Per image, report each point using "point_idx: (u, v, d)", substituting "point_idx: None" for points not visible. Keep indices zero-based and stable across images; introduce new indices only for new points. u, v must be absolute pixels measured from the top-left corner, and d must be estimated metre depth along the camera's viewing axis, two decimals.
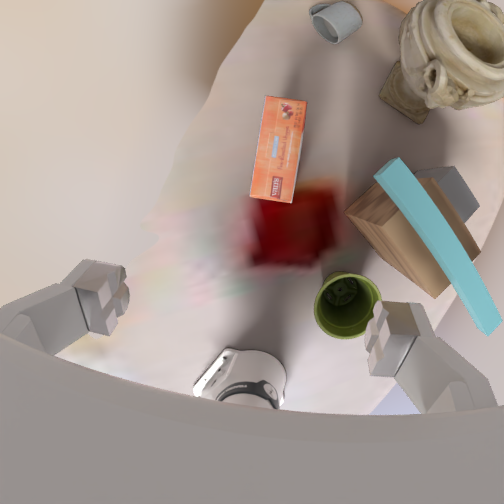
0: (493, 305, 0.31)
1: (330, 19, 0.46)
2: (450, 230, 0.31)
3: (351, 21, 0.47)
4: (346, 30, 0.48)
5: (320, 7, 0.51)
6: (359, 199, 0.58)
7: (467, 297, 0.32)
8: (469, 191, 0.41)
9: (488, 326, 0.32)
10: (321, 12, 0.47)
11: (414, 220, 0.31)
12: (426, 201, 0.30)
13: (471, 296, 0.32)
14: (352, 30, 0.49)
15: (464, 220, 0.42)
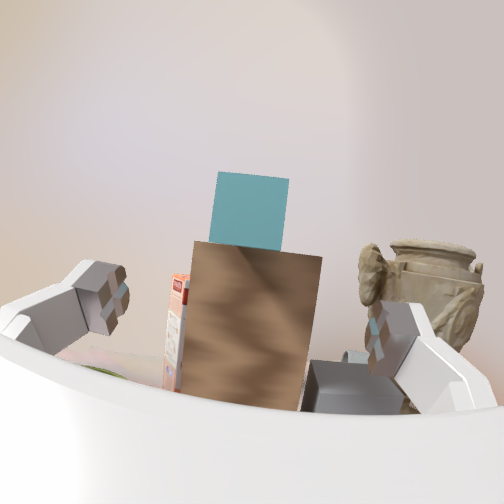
0: None
1: (350, 350, 0.63)
2: None
3: (367, 361, 0.60)
4: None
5: None
6: None
7: None
8: (389, 381, 0.24)
9: None
10: None
11: None
12: None
13: None
14: None
15: (356, 393, 0.22)
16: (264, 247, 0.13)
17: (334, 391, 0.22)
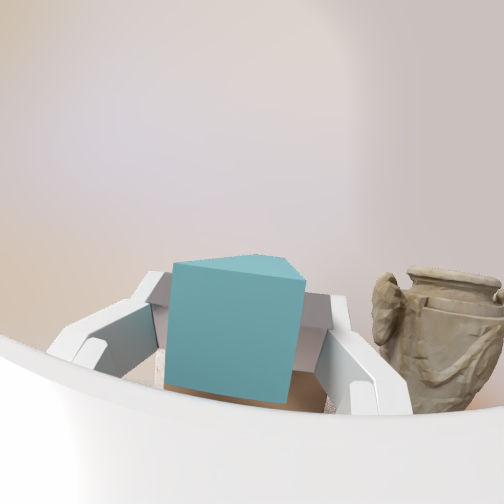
0: (290, 270, 0.10)
1: None
2: (284, 260, 0.23)
3: None
4: None
5: None
6: None
7: (229, 258, 0.15)
8: None
9: (216, 265, 0.08)
10: None
11: None
12: (278, 258, 0.27)
13: (239, 259, 0.14)
14: None
15: None
16: (258, 398, 0.07)
17: None
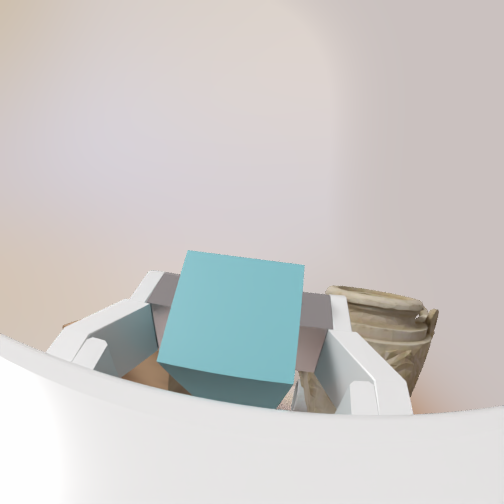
0: None
1: None
2: None
3: None
4: None
5: None
6: None
7: None
8: None
9: None
10: None
11: None
12: None
13: None
14: None
15: None
16: (262, 378, 0.06)
17: None
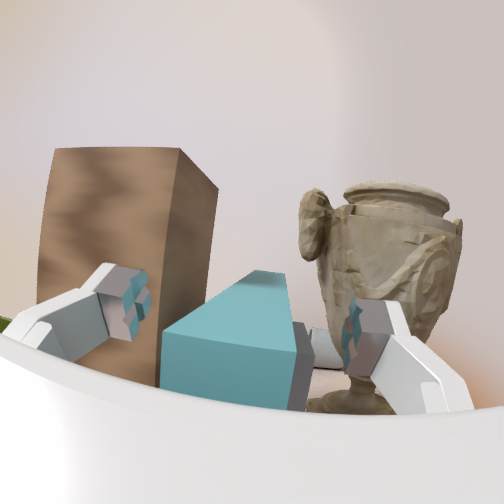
0: (284, 318, 0.10)
1: (315, 328, 0.59)
2: (283, 282, 0.22)
3: None
4: (323, 343, 0.56)
5: None
6: None
7: (225, 292, 0.14)
8: (305, 339, 0.19)
9: (207, 324, 0.08)
10: None
11: None
12: (277, 277, 0.27)
13: (235, 295, 0.14)
14: (331, 350, 0.56)
15: None
16: None
17: None
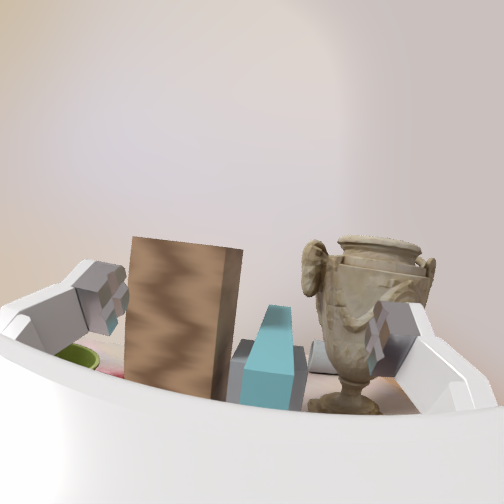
0: (290, 357, 0.21)
1: (316, 340, 0.71)
2: (289, 321, 0.34)
3: None
4: (323, 353, 0.68)
5: None
6: None
7: (257, 338, 0.26)
8: (303, 359, 0.30)
9: (258, 363, 0.19)
10: None
11: None
12: (285, 313, 0.38)
13: (263, 340, 0.25)
14: None
15: None
16: None
17: (244, 361, 0.28)
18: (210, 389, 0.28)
